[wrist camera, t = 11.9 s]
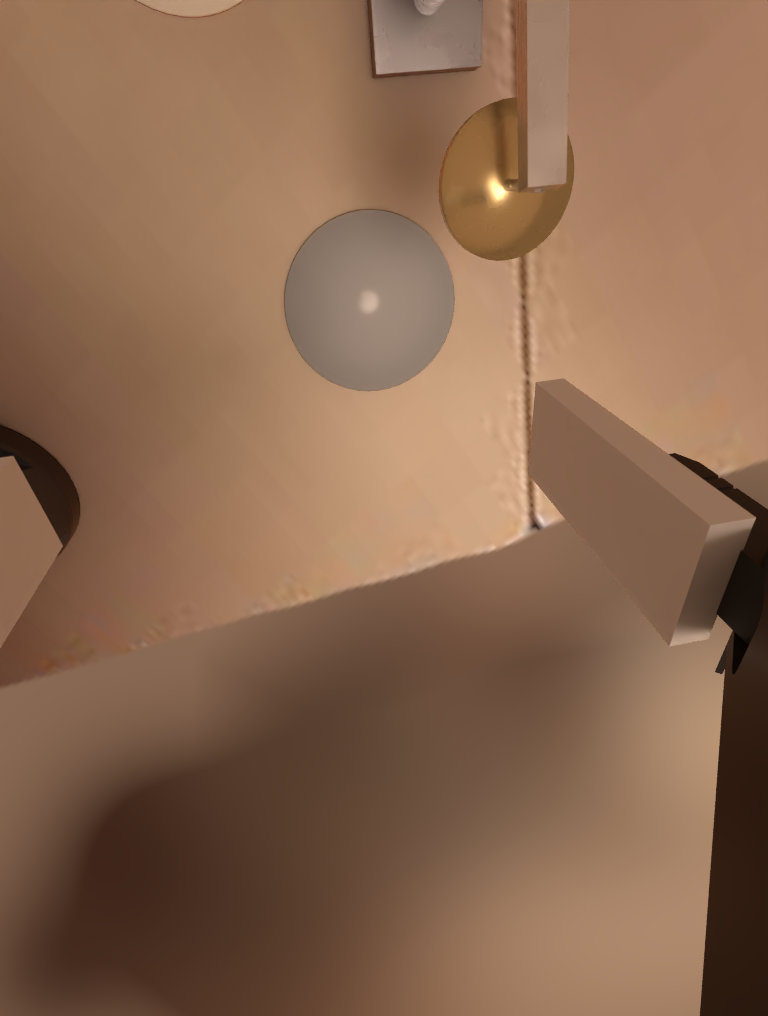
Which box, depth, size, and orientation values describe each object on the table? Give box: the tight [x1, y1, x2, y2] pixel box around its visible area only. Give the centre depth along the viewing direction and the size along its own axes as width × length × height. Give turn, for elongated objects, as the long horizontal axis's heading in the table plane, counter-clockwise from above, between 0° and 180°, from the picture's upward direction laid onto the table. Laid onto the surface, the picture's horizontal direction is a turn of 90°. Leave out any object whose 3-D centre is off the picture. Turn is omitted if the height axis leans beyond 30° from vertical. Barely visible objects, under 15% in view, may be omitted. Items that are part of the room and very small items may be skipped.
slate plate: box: [285, 210, 455, 391], centre depth 42 cm, size 14×14×1 cm
